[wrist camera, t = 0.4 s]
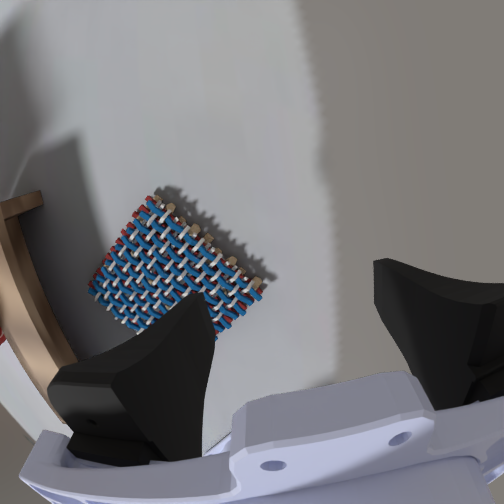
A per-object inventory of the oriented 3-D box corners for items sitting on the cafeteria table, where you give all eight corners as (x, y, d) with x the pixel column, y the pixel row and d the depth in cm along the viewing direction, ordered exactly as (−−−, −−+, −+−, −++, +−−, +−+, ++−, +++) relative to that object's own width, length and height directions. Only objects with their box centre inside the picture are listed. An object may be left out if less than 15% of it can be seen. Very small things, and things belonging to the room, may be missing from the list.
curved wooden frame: (121, 386, 25) (100, 429, 20) (85, 385, 26) (62, 423, 20) (40, 190, 19) (-10, 205, 13) (7, 206, 20) (-39, 224, 14)
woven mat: (157, 184, 20) (147, 188, 18) (269, 281, 22) (270, 293, 20) (89, 281, 22) (78, 292, 20) (185, 358, 24) (180, 373, 23)
